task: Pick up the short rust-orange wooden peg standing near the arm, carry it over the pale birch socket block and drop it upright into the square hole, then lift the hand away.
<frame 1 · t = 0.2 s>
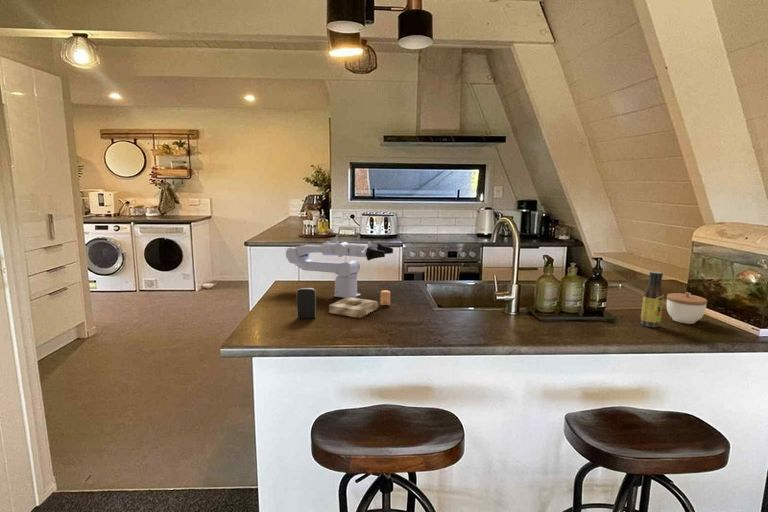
hand: (388, 252, 185), 21 cm above the worktop, tool horizontal, fingers open, 7 cm apart
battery: (306, 318, 167), on the worktop
peg: (385, 304, 185), on the worktop
lidded bowl: (683, 321, 169), on the worktop
sauce bottle: (649, 326, 162), on the worktop
socket block: (353, 310, 176), on the worktop
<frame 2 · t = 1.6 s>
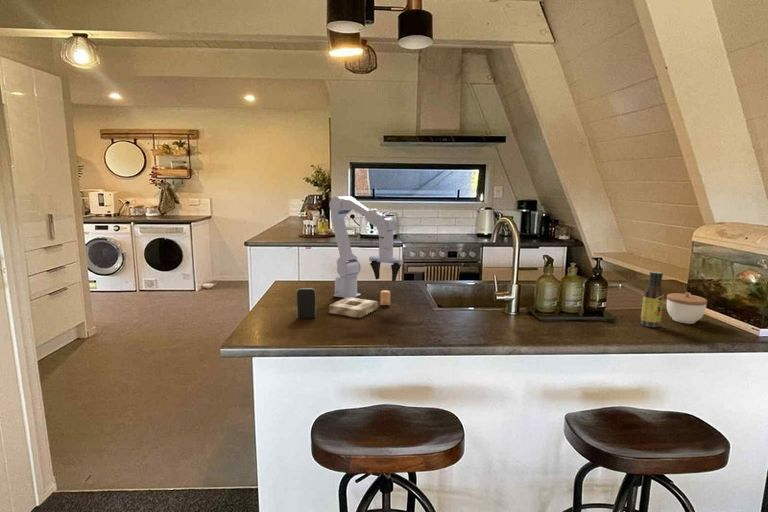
hand: (385, 279, 184), 10 cm above the worktop, tool pointing down, fingers open, 7 cm apart
nothing on the worktop moved.
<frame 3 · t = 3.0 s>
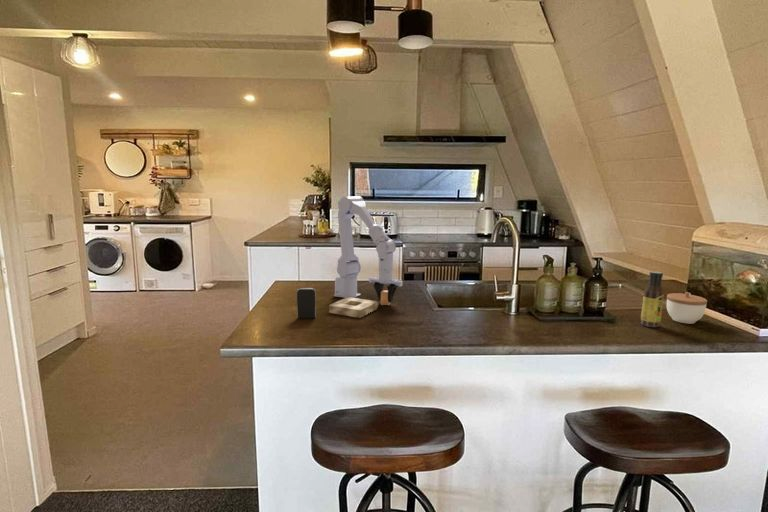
hand: (385, 301, 185), 1 cm above the worktop, tool pointing down, fingers closed on peg, 4 cm apart
peg: (385, 304, 185), on the worktop, touching gripper
everything else where it was.
when the fingers open (4 cm above the worktop, at t = 6.7 s): peg drops 2 cm, resting in socket block.
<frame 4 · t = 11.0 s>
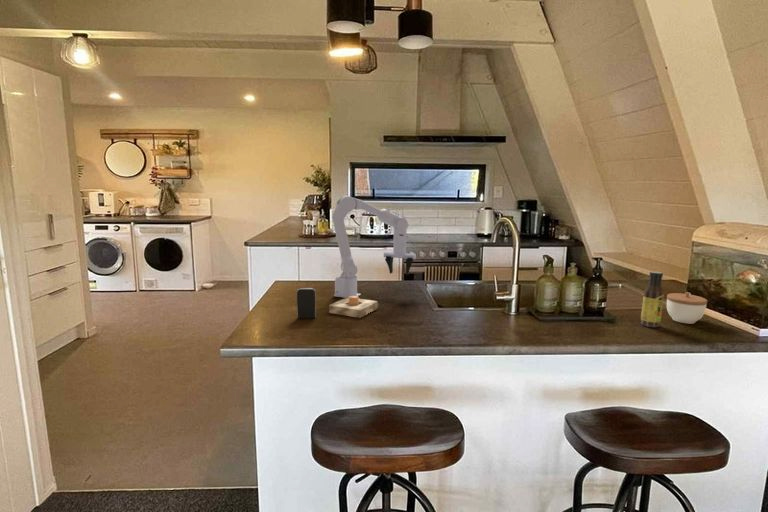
hand: (399, 273, 200), 9 cm above the worktop, tool pointing down, fingers open, 7 cm apart
peg: (353, 310, 176), resting in socket block
everything else where it was.
at the end: peg 0.1 cm off-centre on the socket block, point 0.0 cm above the socket block's base; peg tilted 0°; the gripper is holding nothing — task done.
